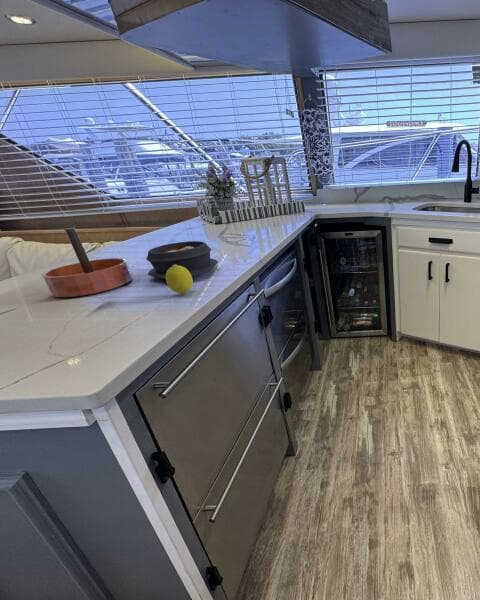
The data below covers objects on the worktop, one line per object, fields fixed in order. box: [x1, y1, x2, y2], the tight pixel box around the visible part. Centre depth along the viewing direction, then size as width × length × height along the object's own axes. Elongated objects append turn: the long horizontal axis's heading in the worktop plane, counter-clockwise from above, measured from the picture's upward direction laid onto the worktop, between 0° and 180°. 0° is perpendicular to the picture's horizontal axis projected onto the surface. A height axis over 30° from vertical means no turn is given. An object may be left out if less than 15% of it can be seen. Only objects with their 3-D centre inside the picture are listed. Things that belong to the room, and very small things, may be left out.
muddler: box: [64, 227, 94, 273], centre depth 88 cm, size 5×5×16 cm
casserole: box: [145, 240, 219, 280], centre depth 99 cm, size 25×19×8 cm
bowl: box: [41, 257, 133, 298], centre depth 90 cm, size 17×17×6 cm
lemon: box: [165, 265, 194, 295], centre depth 81 cm, size 6×6×8 cm
